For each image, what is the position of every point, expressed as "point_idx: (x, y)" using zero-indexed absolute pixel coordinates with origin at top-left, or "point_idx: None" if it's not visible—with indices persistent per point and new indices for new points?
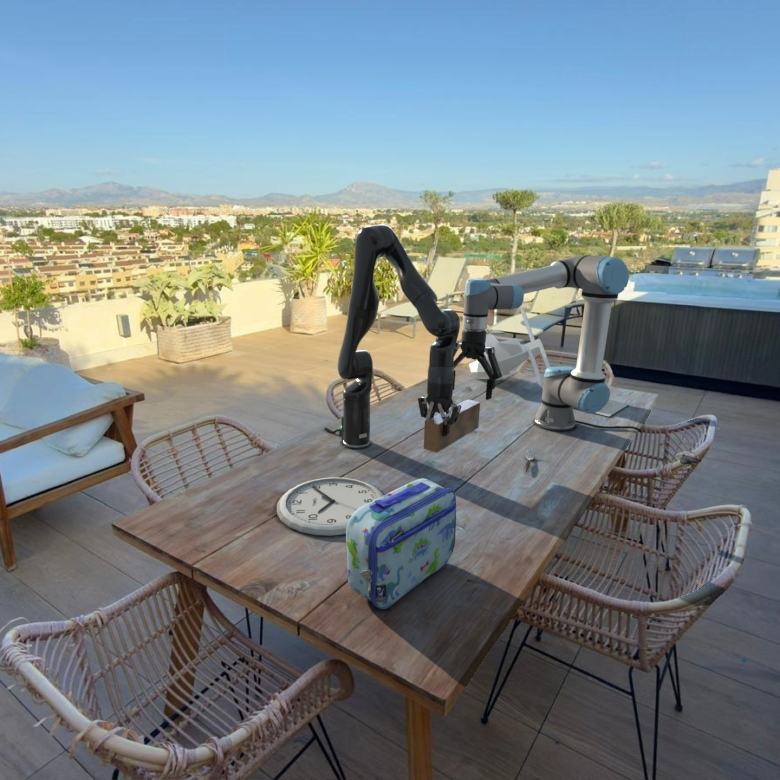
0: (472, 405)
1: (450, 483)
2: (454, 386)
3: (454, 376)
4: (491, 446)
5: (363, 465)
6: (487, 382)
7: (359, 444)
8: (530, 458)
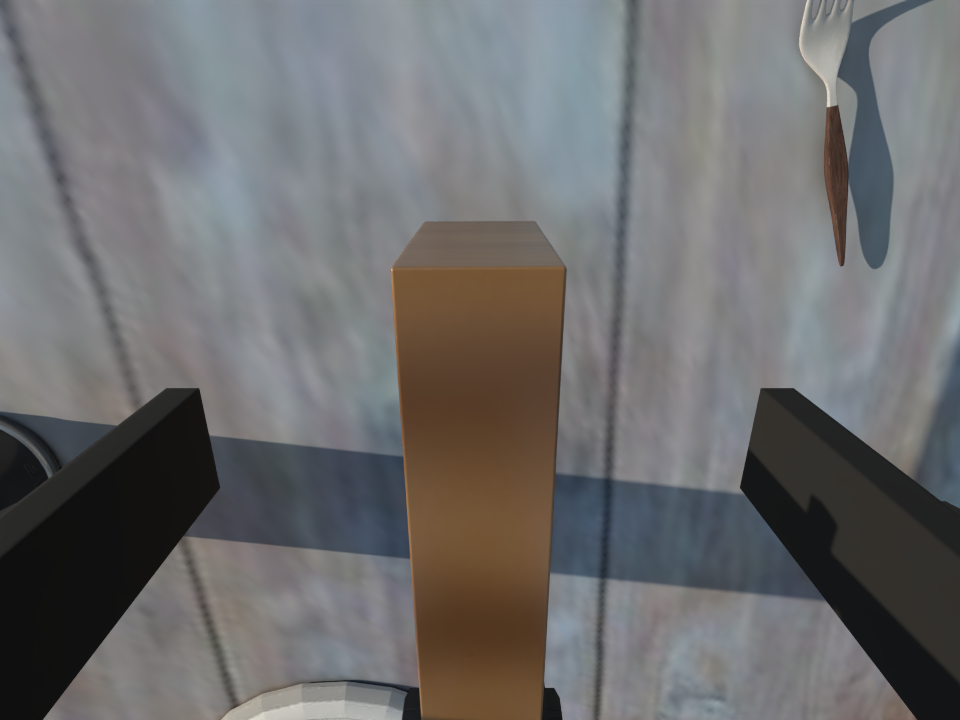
0: (545, 420)
1: (563, 525)
2: (175, 410)
3: (60, 543)
4: (542, 10)
5: (208, 593)
6: (919, 706)
7: None
8: (829, 48)
